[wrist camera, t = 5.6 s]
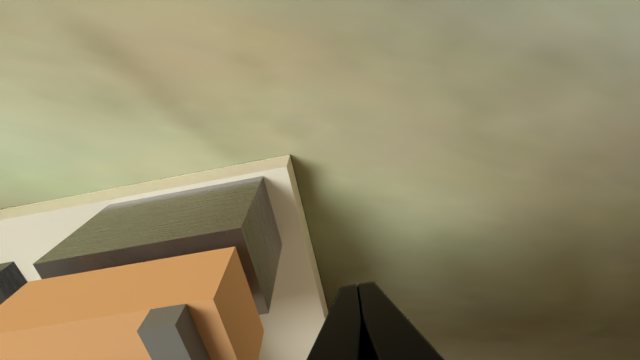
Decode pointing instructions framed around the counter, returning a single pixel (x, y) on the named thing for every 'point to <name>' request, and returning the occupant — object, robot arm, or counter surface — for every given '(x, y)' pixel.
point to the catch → (137, 313)
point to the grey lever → (10, 280)
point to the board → (72, 212)
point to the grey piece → (179, 234)
